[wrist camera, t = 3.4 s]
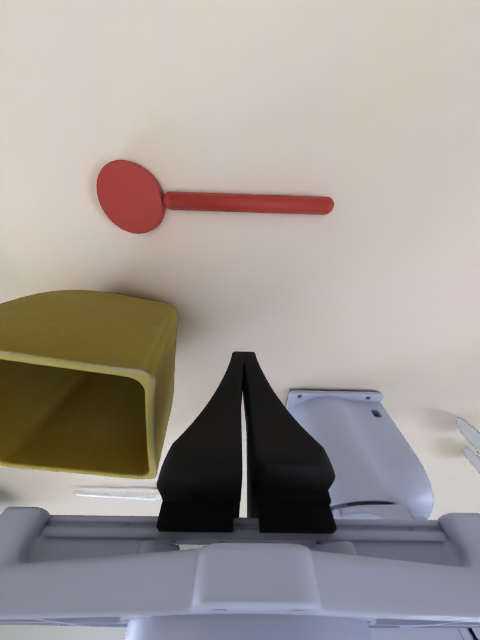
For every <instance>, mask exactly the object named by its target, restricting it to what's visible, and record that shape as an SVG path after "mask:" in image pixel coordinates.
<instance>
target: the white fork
mask: <svg viewBox="0 0 480 640" xmlns="http://www.w3.org/2000/svg"><path fill="white" fill-rule="evenodd" d="M74 495H75V496H88V497H105V498H123V499H140V500H159V499H162V497H161V495H160V493H159V491H158V492H156V493H135V492H105V491H74Z"/></svg>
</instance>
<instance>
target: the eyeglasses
mask: <svg viewBox="0 0 480 640" xmlns="http://www.w3.org/2000/svg"><path fill="white" fill-rule="evenodd" d="M456 421H457V425H458V428H459V430H460V432H461V433H462V435H463V436H464V437H465V438H466V439H467V440H468V441H469V443H470V444H471V445H472V446H473V447H474V448H475V449H476V450H477V453H478V454H480V432H479V431H477V430H476V429H475V428H474V427H472V426H471V425H470V424H469V423H467V422H466V421H465V420H463V419H462V418H459V417H458V418H457V419H456ZM463 453H464V455H465V457H466V458H467V459H468V461H469V462H470V463H471V464H472V465H473V467H474V468H475V469H476V470H477V471H478V472H479V473H480V457H479V456H478V455H477V454H475V453H474V452H473V451H471V450H470V449H469V448H467V447H466V446H463Z"/></svg>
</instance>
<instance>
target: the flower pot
mask: <svg viewBox="0 0 480 640" xmlns="http://www.w3.org/2000/svg"><path fill="white" fill-rule="evenodd" d="M177 320H178V319H177V312H176V310H175V308H174V307H173V306H172V305H170V304H168V303H165V302H160V301H154V300H148V299H142V298H137V297H131V296H126V295H120V294H115V293H109V292H100V291H90V290H61V291H51V292H44V293H38V294H34V295H30V296H25V297H22V298H18V299H15V300H11V301H8V302H5V303H1V304H0V466H4V467H12V468H21V469H32V470H44V471H55V472H68V473H78V474H89V475H100V476H109V477H120V478H132V479H153V478H155V477H156V475H157V470H158V466H159V461H160V457H161V452H162V448H163V443H164V439H165V434H166V430H167V425H168V421H169V416H170V411H171V407H172V401H173V393H174V370H175V350H176V334H177Z"/></svg>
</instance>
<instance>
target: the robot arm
mask: <svg viewBox="0 0 480 640" xmlns="http://www.w3.org/2000/svg"><path fill="white" fill-rule="evenodd" d="M242 392H243V399H244V409H245V419H246V432H247V518H239V510H240V500H241V487H242V431H241V403H242ZM382 398H383V396H382V394H381V393H380V392H353V391H309V390H292V391H290V392H289V396H288V400H287V404H286V408H285V406H284V405H283V404H282V402H281V401H280V400H279V398H278V397H277V395H276V394H275V392H274V391H273V389H272V388H271V386H270V385H269V383H268V381H267V379H266V377H265V376H264V374H263V372H262V370H261V368H260V365H259V363H258V361H257V358H256V355H255V353H254V352H233V353H232V357H231V361H230V364H229V366H228V369H227V371H226V373H225V375H224V377H223V379H222V381H221V383H220V385H219V387H218V388H217V390H216V392H215V393H214V395H213V396H212V398H211V400H210V401H209V402H208V404H207V405H206V407H205V408H204V409H203V411H202V412H201V413H200V414H199V416H198V417H197V418H196V419H195V420H194V422H193V423H192V424H191V425H190V426H189V427H188V428H187V430H186V431H185V432H184V433H183V434H182V435H181V436H180V437H179V438H178V439H177V440H176V441H175V442H174V443H173V444H172V446H171V448H170V450H169V452H168V454H167V456H166V458H165V460H164V463H163V465H162V468H161V471H160V474H159V478H158V481H157V488H158V491H159V493H160V495H161V497H162V500H163V502H162V505H161V509H160V513H159V516H83V515H50V514H49V513H48V511H46V510H44V509H42V508H38V507H8V508H6V509H5V510H4V511H3V512H2V514H1V515H0V625H52V626H54V625H55V626H96V627H127V630H126V634H125V637H124V640H480V514H479V513H449V514H445V515H443V516H441V517H440V518H438V520H428V519H427V518H428V517H429V516H430V515H431V513H432V510H433V505H434V497H433V492H432V488H431V484H430V481H429V479H428V476H427V474H426V471H425V469H424V467H423V466H422V464H421V462H420V460H419V459H418V457H417V456H416V454H415V453H414V451H413V450H412V448H411V447H410V445H409V444H408V442H407V441H406V439H405V438H404V437H403V435H402V434H401V432H400V431H399V429H398V428H397V426H396V425H395V423H394V422H393V420H392V419H391V417H390V416H389V414H388V413H387V411H386V410H385V408H384V407H383V405H382V404H381V402H380V401H381V400H382ZM175 544H191V545H192V544H193V545H195V544H196V545H206V546H203V548H200V549H188V550H179V549H180V548H179V546H178V545H175Z"/></svg>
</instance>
